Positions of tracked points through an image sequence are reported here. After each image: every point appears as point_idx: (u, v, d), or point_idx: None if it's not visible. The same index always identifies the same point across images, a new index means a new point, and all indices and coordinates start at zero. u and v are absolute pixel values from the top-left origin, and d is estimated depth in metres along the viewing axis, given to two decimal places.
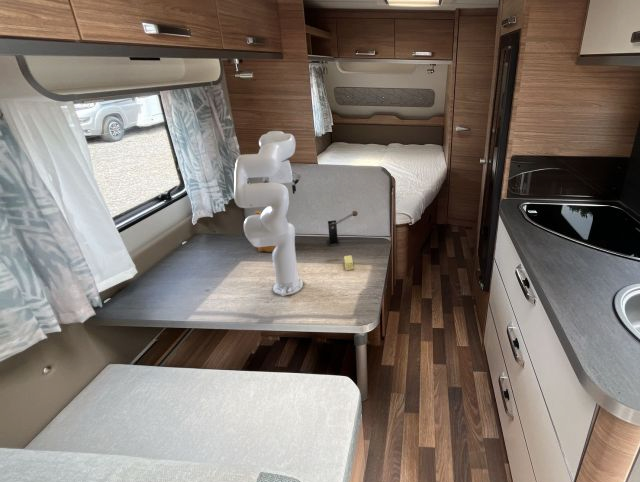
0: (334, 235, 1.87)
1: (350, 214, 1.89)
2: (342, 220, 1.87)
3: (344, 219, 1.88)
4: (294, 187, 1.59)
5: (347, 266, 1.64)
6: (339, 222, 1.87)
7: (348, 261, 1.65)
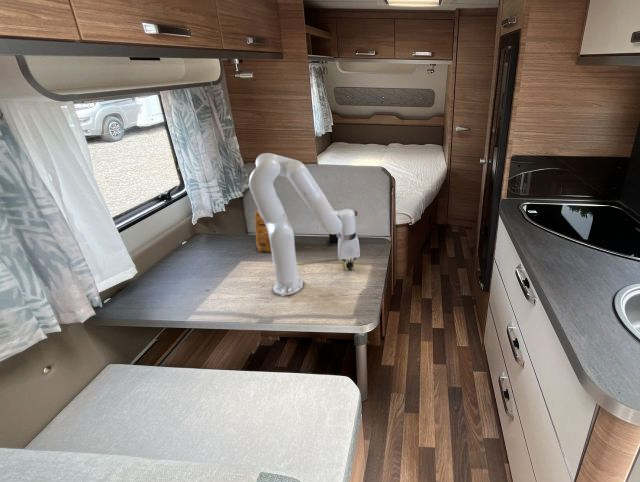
0: (334, 235, 1.87)
1: None
2: None
3: None
4: (351, 264, 1.62)
5: None
6: None
7: None
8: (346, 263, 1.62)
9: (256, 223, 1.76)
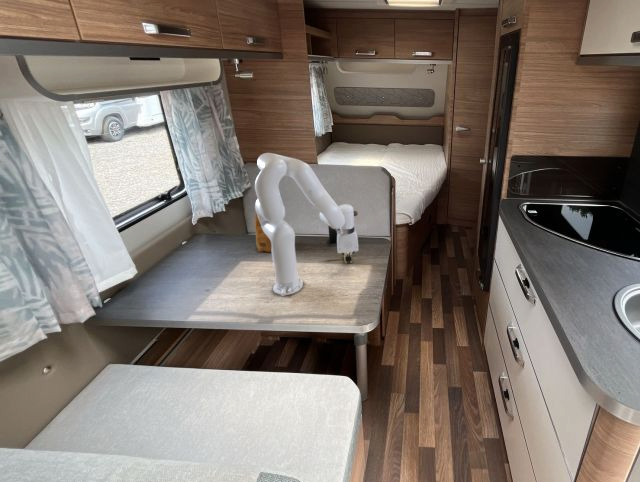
0: (334, 235, 1.87)
1: None
2: None
3: None
4: (350, 257, 1.68)
5: None
6: None
7: None
8: (345, 256, 1.68)
9: (256, 223, 1.76)
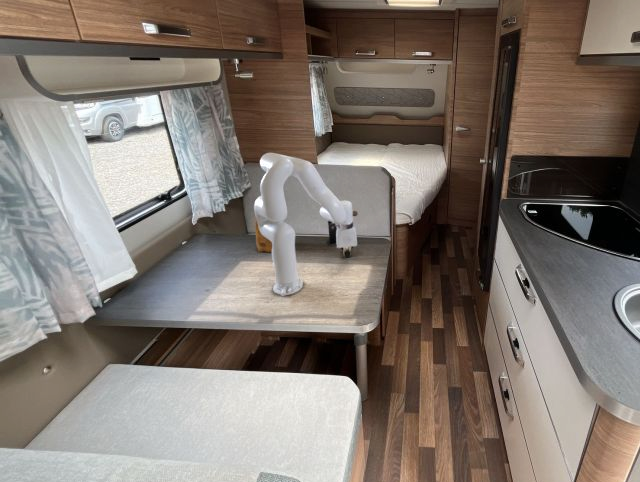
0: (334, 235, 1.87)
1: None
2: None
3: None
4: (349, 252, 1.73)
5: None
6: None
7: None
8: (344, 251, 1.73)
9: (256, 223, 1.76)
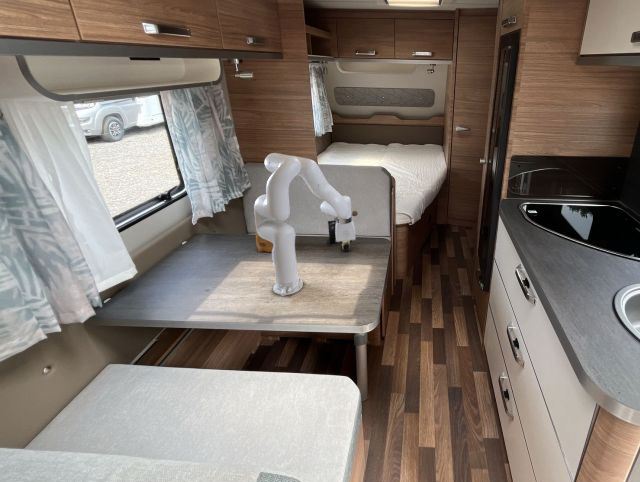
0: (334, 235, 1.87)
1: None
2: None
3: None
4: (348, 246, 1.79)
5: None
6: None
7: None
8: (343, 245, 1.79)
9: None
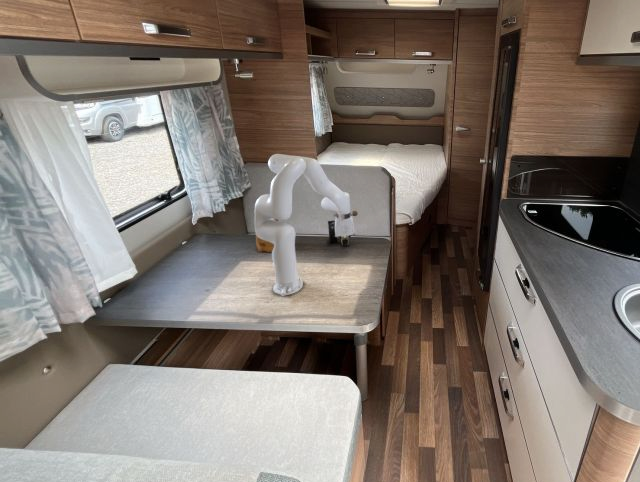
0: (334, 235, 1.87)
1: None
2: None
3: None
4: (347, 241, 1.84)
5: None
6: None
7: None
8: (342, 240, 1.84)
9: None
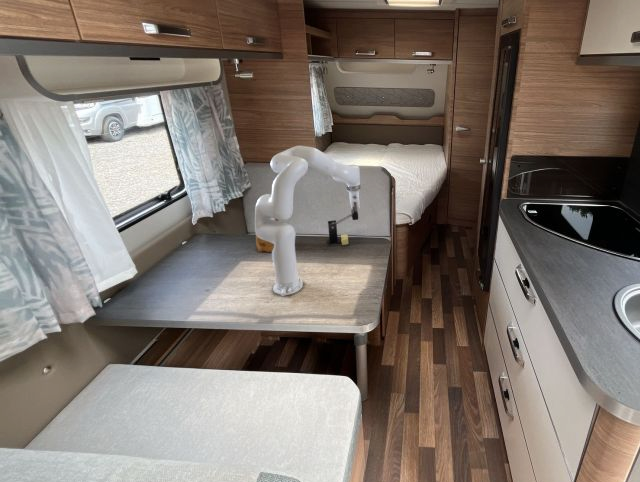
0: (334, 235, 1.87)
1: (350, 214, 1.89)
2: (342, 220, 1.87)
3: (344, 219, 1.88)
4: None
5: (343, 243, 1.87)
6: (339, 222, 1.87)
7: (344, 238, 1.88)
8: (355, 214, 1.86)
9: None
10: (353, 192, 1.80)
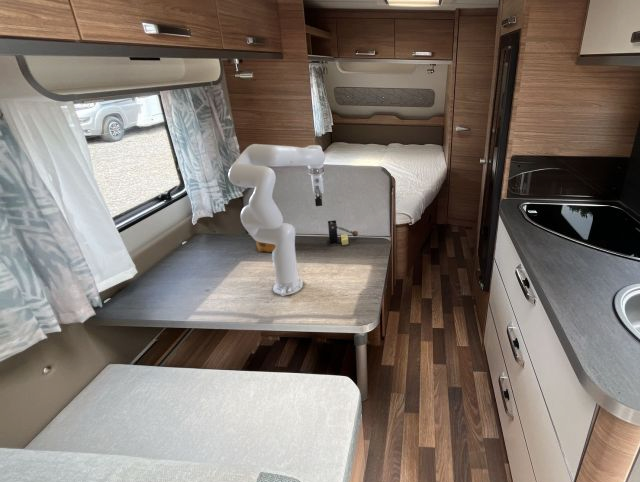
0: (334, 235, 1.87)
1: (351, 231, 1.92)
2: (342, 229, 1.89)
3: (344, 230, 1.90)
4: (319, 193, 1.76)
5: (343, 243, 1.87)
6: (339, 228, 1.89)
7: (344, 238, 1.88)
8: (318, 200, 1.66)
9: None
10: (315, 175, 1.63)
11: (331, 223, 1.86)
